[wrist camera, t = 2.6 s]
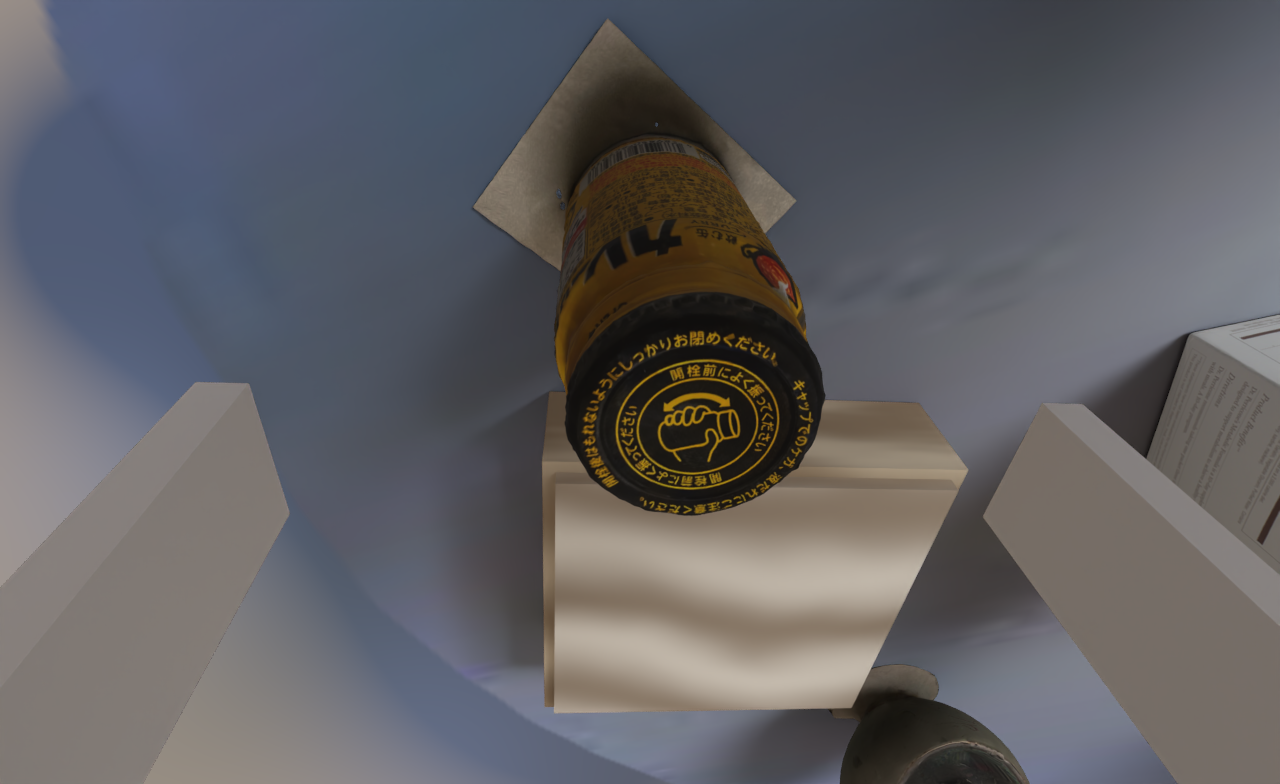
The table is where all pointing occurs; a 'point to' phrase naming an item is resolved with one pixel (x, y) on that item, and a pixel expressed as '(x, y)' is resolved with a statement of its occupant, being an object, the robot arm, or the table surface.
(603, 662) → the podium
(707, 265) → the condiment
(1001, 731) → the table surface
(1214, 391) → the supplement box
